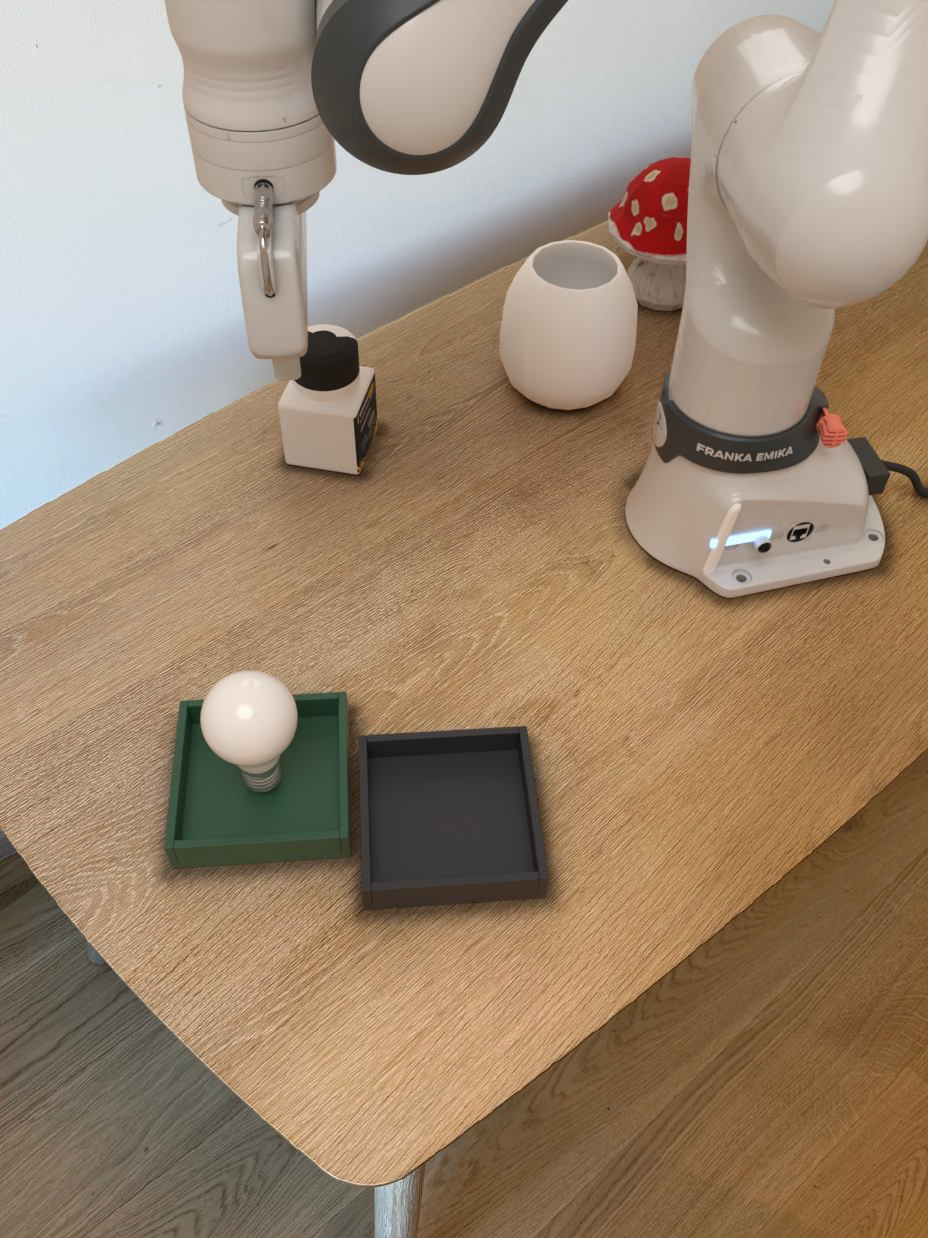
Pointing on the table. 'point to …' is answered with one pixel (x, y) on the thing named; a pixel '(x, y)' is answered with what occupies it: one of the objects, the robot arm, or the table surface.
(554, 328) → the white vase
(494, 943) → the table surface
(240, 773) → the bulb tray
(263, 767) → the lightbulb
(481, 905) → the table surface
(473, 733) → the tray
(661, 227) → the decorative mushroom
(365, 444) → the medicine bottle
